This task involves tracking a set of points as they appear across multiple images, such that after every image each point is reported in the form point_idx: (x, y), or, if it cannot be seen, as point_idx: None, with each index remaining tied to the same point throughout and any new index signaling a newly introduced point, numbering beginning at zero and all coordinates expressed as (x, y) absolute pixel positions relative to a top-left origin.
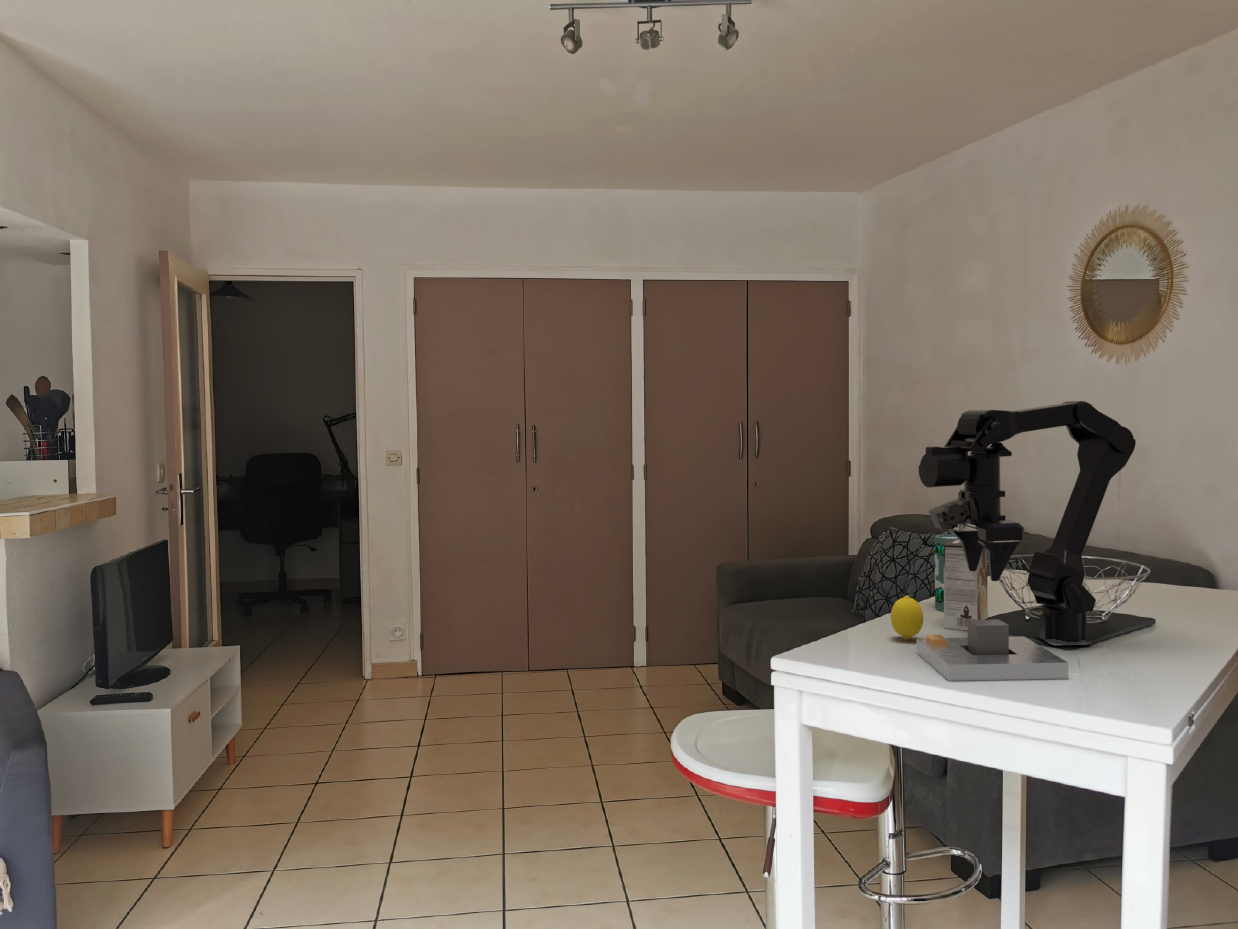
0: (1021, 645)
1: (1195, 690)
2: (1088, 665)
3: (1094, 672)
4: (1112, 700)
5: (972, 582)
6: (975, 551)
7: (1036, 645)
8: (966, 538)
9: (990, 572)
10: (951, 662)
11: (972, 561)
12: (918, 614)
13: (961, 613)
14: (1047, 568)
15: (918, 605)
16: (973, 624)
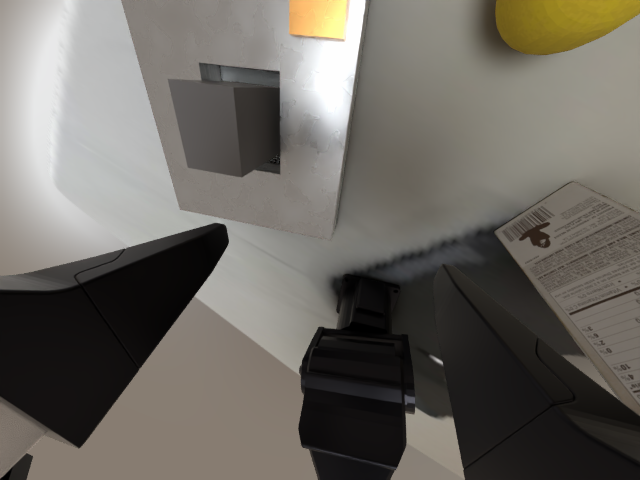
0: (272, 202)
1: None
2: (258, 257)
3: (228, 245)
4: (123, 195)
5: (573, 305)
6: (462, 369)
7: (271, 224)
8: (562, 472)
9: (190, 232)
10: None
11: (448, 305)
12: (517, 4)
13: (549, 228)
14: (335, 403)
15: (556, 5)
16: (190, 81)
